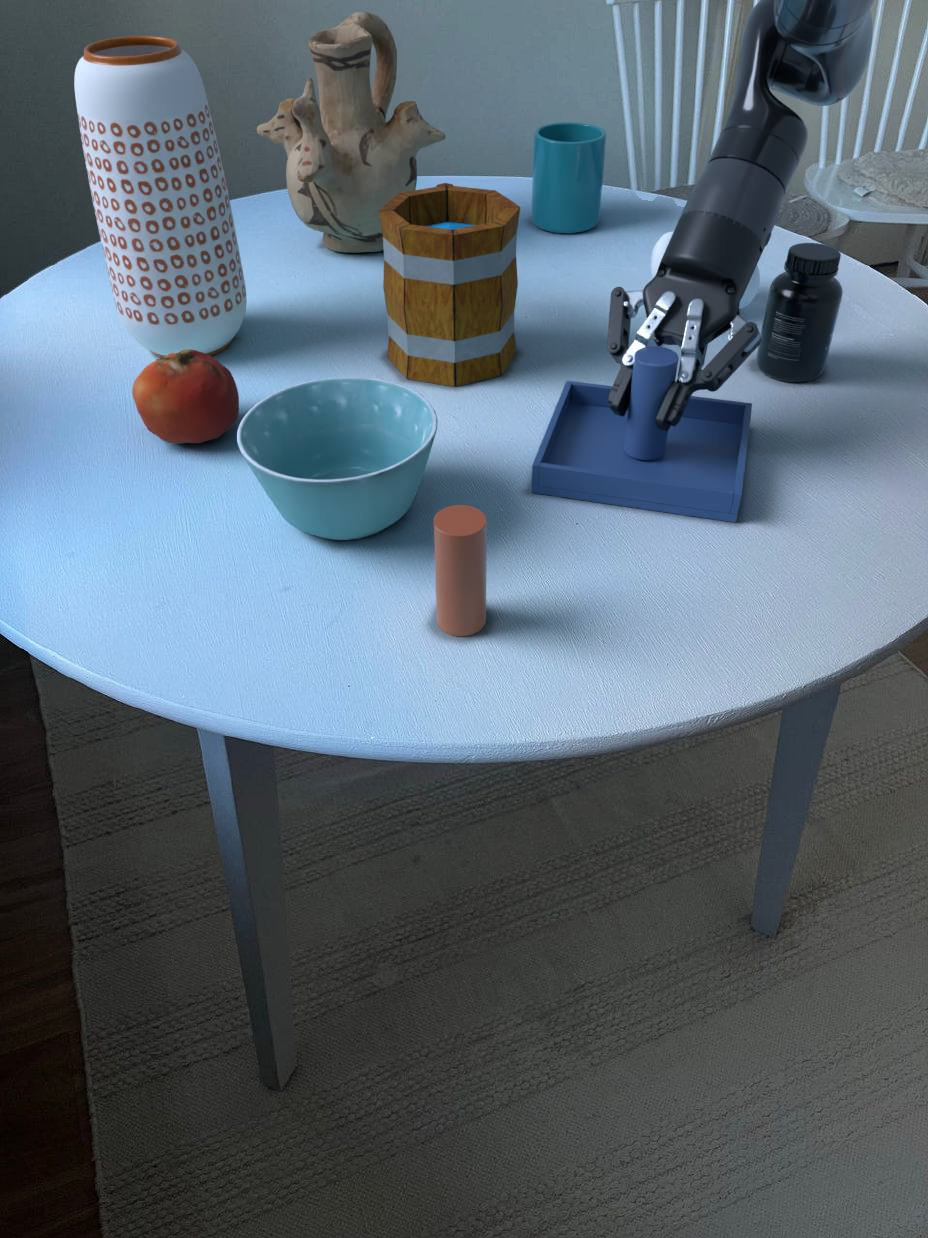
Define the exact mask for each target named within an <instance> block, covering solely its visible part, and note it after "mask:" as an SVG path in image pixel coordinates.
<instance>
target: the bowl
mask: <svg viewBox="0 0 928 1238" xmlns="http://www.w3.org/2000/svg"><path fill="white" fill-rule="evenodd" d="M437 431H438V416H437V413H436V410H435V408H434V407H433V405H432V404H431V402H430V401H429V400H428V399H427V398H425V396H424V395H422V394H421V393H419V392H417V391H416V390H414V389H412V388H410V387H408V386H405V385H403V384H400V383H397V382H394V381H390V380H385V379H381V378H375V377H362V376H340V377H327V378H320V379H319V378H318V379H314V380H309V381H305V382H301V383H297V384H294V385H290V386H288V387H285V388H283V389H280V390H278V391H276V392H274V393H272V394H269V395H268V396H266V397H265V398H263V399H261V400H260V401H258V402H257V403H256V404H255V405H254V406H252V407H251V408H250V409H249V410H248V412H246V413H245V415H244V416H243V418H242V419H241V421H240V423H239V425H238V428H237V432H236V442H237V447H238V449H239V451H240V453H241V455H242V456H243V459H244V460H245V462H246V464H247V465H248V467H249V468H250V470H251V471H252V473H253V475H254V477H255V478H256V479H257V481H258V483H259V484H260V486H261V487H262V489H263V490H264V492H265V493H266V495H267V496H268V498H269V499H270V501H271V502H272V504H273V506H274V507H275V508H276V510H277V511H278V513H279V514H280V516H281V517H282V518H283V519H284V520H285V521H286V522H287V523H288V524H289V525H291V526H292V527H293V528H295V529H297V530H299V531H301V532H304V533H306V534H309V535H311V536H315V537H318V538H322V539H325V540H331V541H333V540H334V541H349V540H351V541H352V540H359V539H362V538H366V537H370V536H372V535H375V534H377V533H380V532H381V531H383V530H385V529H386V528H388V527H390V526H392V525H394V523H396V522H397V521H399V520H400V519H401V518H402V517H403V516H404V515H405V514H406V513H407V512H408V511H409V509H410V508H411V506H412V504H413V502H414V500H415V496H416V495H417V491H418V488H419V486H420V483H421V480H422V478H423V475H424V472H425V469H426V466H427V463H428V461H429V458H430V454H431V451H432V449H433V445H434V440H435V438H436V434H437Z"/></svg>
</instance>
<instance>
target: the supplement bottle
mask: <svg viewBox="0 0 928 1238" xmlns="http://www.w3.org/2000/svg"><path fill="white" fill-rule="evenodd" d="M841 254H842V253H841V251H840V250H838V249H837V248H835V247H833V246H831V245H827V244H824V243H819V242H801V243H796V244H793V245H791V246H790V247H789V248H788V251H787V256H786V260H785V262H784V266H783V269H784V271H783V272H781V273H780V274H778V275H777V276H776V277H775V278H774V279H773V281H772V282H771V284H770V286H769V290H768V296H767V301H766V306H765V310H764V316H763V321H762V325H761V331H760V335H761V339H762V341H761V343H760V345H759V346H758V347H757V351H756V358H755V364H756V367H757V369H758V370H759V371H761V373H762V374H764V375H766V376H767V377H770V378H772V379H775V380H778V381H782V382H787V383H788V382H790V383H804V382H809V381H812V380H814V379H816V378H818V377H820V375H822V374H823V372H824V370H825V367H826V363H827V360H828V355H829V351H830V348H831V344H832V340H833V336H834V331H835V327H836V323H837V320H838V317H839V316H838V315H839V312H840V307H841V303H842V299H843V292H844V291H843V287H842V284H841V283H840V281H839V280H838V279H837V277H836V276H837V275H838V272H839V265H840V261H841V257H842V255H841Z"/></svg>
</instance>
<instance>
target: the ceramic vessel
mask: <svg viewBox="0 0 928 1238" xmlns="http://www.w3.org/2000/svg"><path fill="white" fill-rule="evenodd" d="M308 47H309V50H310V54H311V57H312V60H313V64H314V69H315V74H316V80H317V86H318V94H319V95H318V97H319V103H318V100H317V97H316V92H315V84H314V80H313V78H312V77H308V78H307V80H306V82H305V86H304V90H303V93H302V95H301V96H299V97H298V98H296V99H295V98H294V97H293V98H292V97H290V98H289V97H288V98H287V99H285V100H282V101H281V102H280V103H279V106H278V110H277V112H276V114H275V115H274V116H273V117H272V118H271V119H270V120H269V121H267V122H264V123H261V124H259V125H257V126H256V132H257V134H258V135H259V136H260V137H262V138H263V139H266V140H268V141H270V142H272V143H273V144H275V145H276V146H277V147H281V148H283V149H284V150H285V154H286V157H287V161H286V167H285V171H286V172H285V179H286V180H285V181H286V189H287V192H288V196H289V199H290V202H291V206H292V208H293V210H294V212H295V214H296V216H297V217H298V218H299V220H300V221H301V223H303V224H304V225H305V227H307V228H309V229H312V230H313V231H316V232H320V233H322V244H323V246H324V247H325V248H326V249H328V250H330V251H333V252H339V253H378V252H382V251H384V248H383V235H382V229H381V224H380V218H379V213H378V211H379V210H380V209H381V208H382V207H383V206H384V205H385V204H387V203H388V202H389V201H390V200H391V199H392V198H394V197H395V196H396V195H397V194H398V193H402V192H408V191H414V190H417V189H416V188H417V183H418V182H417V181H418V163H417V154H418V152H419V151H420V150H421V149H424V148H427V147H429V146H431V145H433V144H437V143H439V142H443V141H445V140H446V136H447V135H446V134H445V132H443V131H441V130H439V129H437V128H436V127H433V126H432V125H431V124H430V123H429V122H428V121H426V119H424V118H423V116H422V114H421V112H420V111H419V108H418V104H417V102H416V101H415V100H406V101H403V102H400V103H398V105H397V106H396V107H395V108H394V110H393V114H392V116H391V117H390V119H389V120H388V121H387V113H388V109H389V107H390V104H391V101H392V99H393V95H394V92H395V86H396V82H397V73H398V49H397V46H396V42H395V39H394V36H393V34H392V32H391V30H390V28H389V26H388V24H386V23H385V21H384V20H383V19H382V18H381V17H380V16H378V15H377V14H374V13H372V12H370V11H355V12H353V13H352V14H351V15H350V16H348V17H347V18H346V19H344V20H343V21H342V22H341V23H339V24H338V25H336V27H331V28H323V29H320V30H319V31H317V32H316V33H314V34H313V35H312V36H311V37H310V38H309V41H308ZM373 47H374V50H375V56H376V57H375V58H376V59H375V60H376V61H375V72H374V80H373V84H372V87H371V56H372V55H371V54H372V48H373Z"/></svg>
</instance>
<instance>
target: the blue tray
mask: <svg viewBox="0 0 928 1238" xmlns="http://www.w3.org/2000/svg"><path fill="white" fill-rule="evenodd" d="M612 386H613V385H606V384H598V383H590V382H581V381H573V380H566V381H565V384H564V386H563V389H562V391H561V393H560V396H559V398H558V401H557V403H556V405H555V408H554V411H553V413H552V415H551V418H550V420H549V422H548V426H547V427H546V431H545V433H544V435H543V438H542V441H541V443H540V446H539V447H538V450H537V452H536V455H535V457H534V460H533V463H532V464H531V465H532V466H531V486H530V487H531V488H530V493H532V494H538V495H546V496H553V497H560V498H566V499H573V500H579V501H587V502H594V503H599V504H600V503H601V504H607V505H614V506H619V507H627V508H634V509H640V510H649V511H653V512H654V511H655V512H662V513H668V514H675V515H683V516H689V517H695V518H702V519H710V520H715V521H721V522H729V523H737V521H738V516H739V510H740V506H741V501H742V497H743V489H744V481H745V473H746V462H747V456H748V455H747V454H748V446H749V445H748V444H749V437H750V427H751V420H752V418H751V417H752V409H753V403H752V402H744V401H736V400H728V399H720V398H711V397H703V396H696V395H691V397H690V399H689V401H688V404H687V406H686V408H685V410H684V413H683V415H682V417H681V419H680V422H679V423H678V424H677V425H676V426H675V427H674V426H670V428H669V430H668V434H667V441H666V448H665V453H664V454H663V455H662V456H661V457H660V458H657V459H654V460H640V459H636V458H633V457H631V456H629V455H628V454H627V453H626V452H625V450H624V444H625V435H626V426H627V418H628V409H629V407H628V409H627V411H626V414H625V415H624V416H623V417H622V416H619V415H616V414H614V413H613V411H612V410H611V408H610V407H611V404H610V402H609V401H608V398H609V393H610V391H611V389H612Z"/></svg>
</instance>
